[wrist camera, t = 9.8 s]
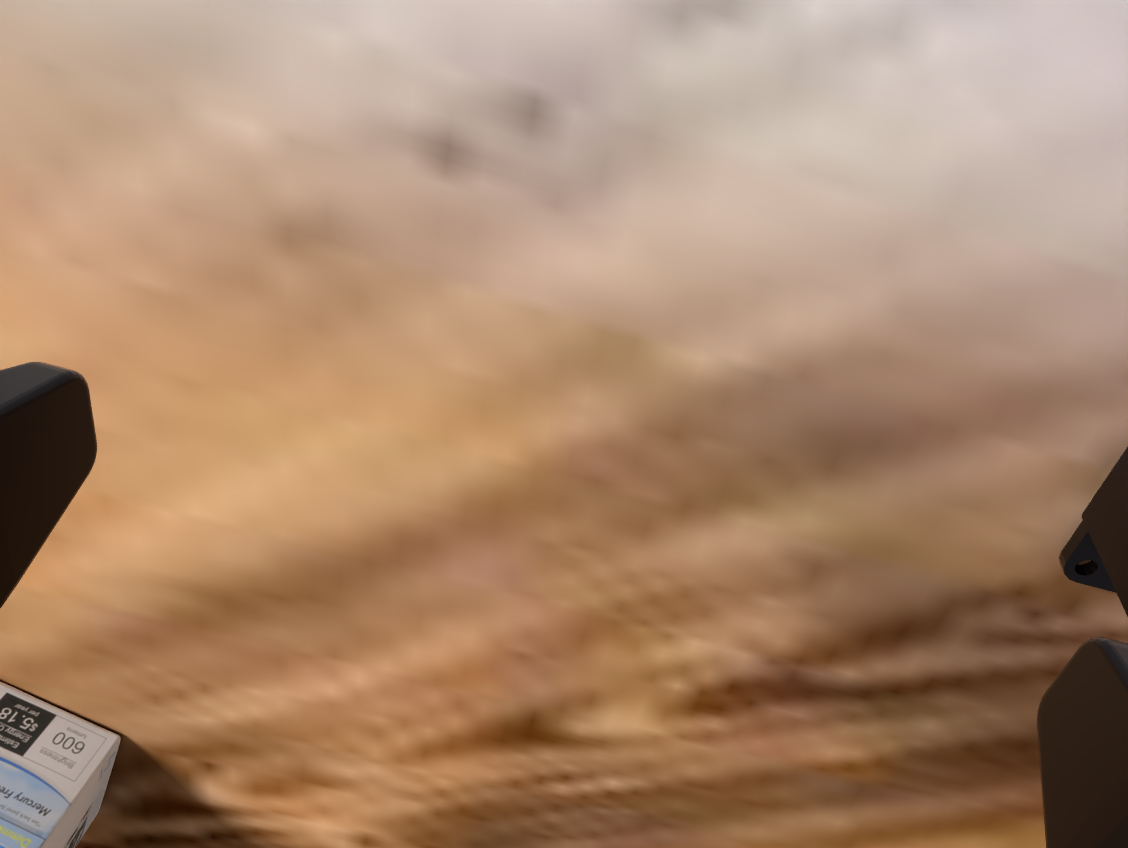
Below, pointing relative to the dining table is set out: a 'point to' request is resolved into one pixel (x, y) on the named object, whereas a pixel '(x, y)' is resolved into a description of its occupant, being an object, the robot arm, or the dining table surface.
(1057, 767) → the robot arm
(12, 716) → the light bulb box
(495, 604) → the dining table surface
